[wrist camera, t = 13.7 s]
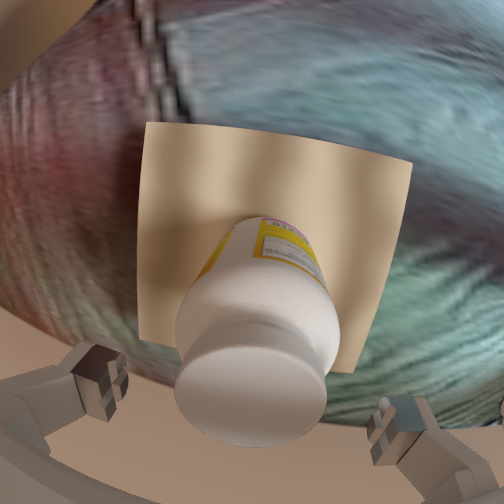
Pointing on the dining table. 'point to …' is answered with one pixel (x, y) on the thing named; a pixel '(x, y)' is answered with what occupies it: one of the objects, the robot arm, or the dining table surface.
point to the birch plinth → (265, 205)
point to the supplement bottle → (256, 338)
